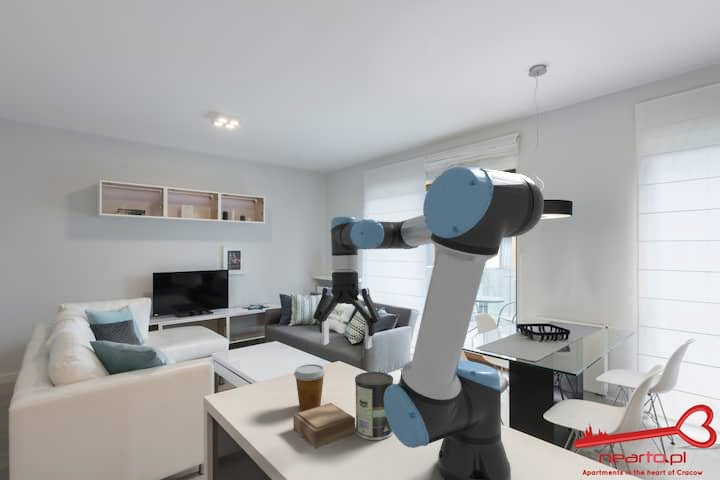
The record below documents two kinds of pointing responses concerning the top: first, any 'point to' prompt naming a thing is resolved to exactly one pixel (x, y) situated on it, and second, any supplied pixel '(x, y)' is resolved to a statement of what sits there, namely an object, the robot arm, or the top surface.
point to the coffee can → (372, 405)
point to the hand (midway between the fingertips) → (346, 346)
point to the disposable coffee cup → (309, 385)
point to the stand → (324, 424)
